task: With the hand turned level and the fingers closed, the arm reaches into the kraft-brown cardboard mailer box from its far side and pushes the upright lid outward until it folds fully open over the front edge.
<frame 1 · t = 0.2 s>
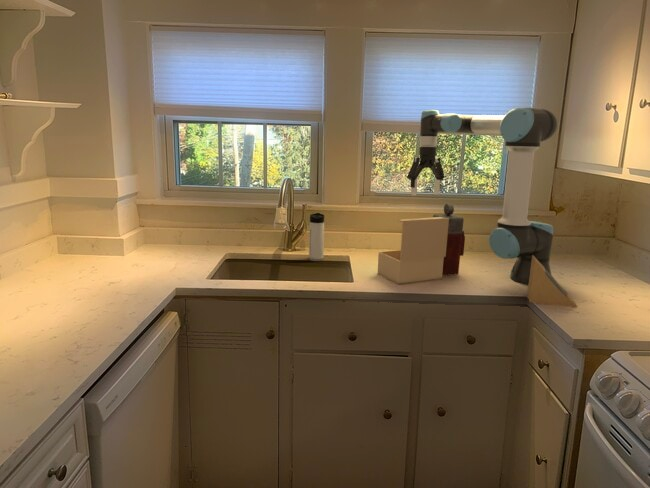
hand: (425, 194, 222), 28 cm above the worktop, tool pointing down, fingers open, 13 cm apart
sandwich container: (551, 302, 171), on the worktop
mailer lid: (421, 238, 185), point 17 cm above the worktop, hinge at 90.0°
red grinder: (445, 272, 203), on the worktop
travel mug: (316, 259, 216), on the worktop
mailer box: (409, 276, 194), on the worktop
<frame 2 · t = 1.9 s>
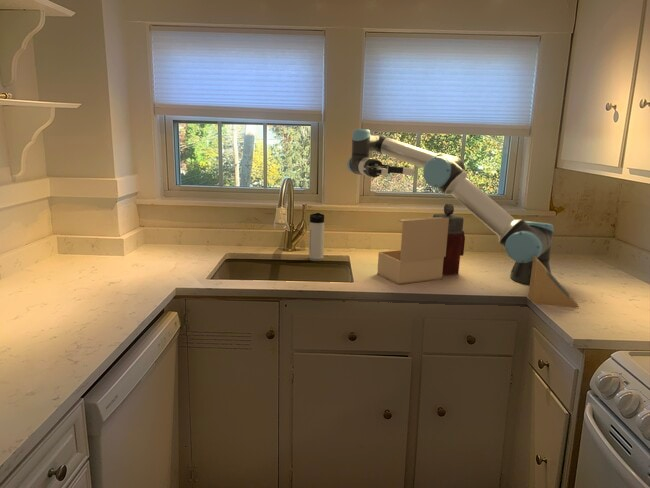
hand: (400, 172, 189), 40 cm above the worktop, tool horizontal, fingers open, 11 cm apart
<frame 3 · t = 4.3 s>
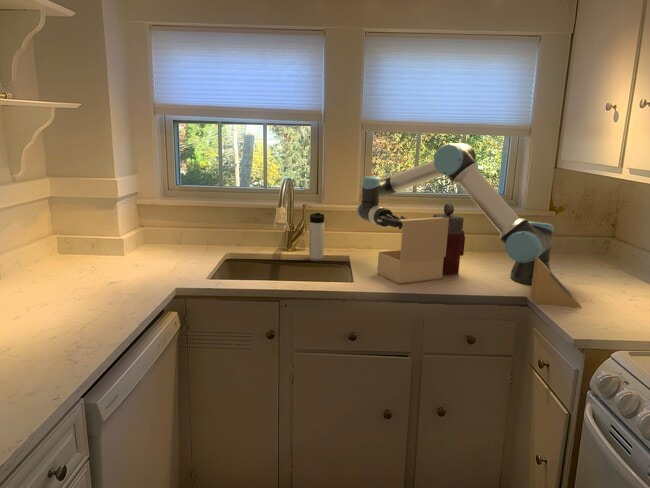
hand: (413, 227, 188), 20 cm above the worktop, tool horizontal, fingers closed
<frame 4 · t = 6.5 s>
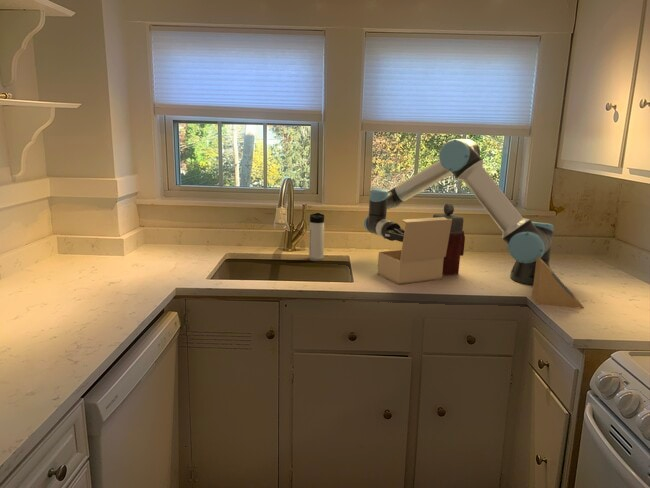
hand: (422, 243, 183), 15 cm above the worktop, tool horizontal, fingers closed
mailer lid: (423, 238, 184), point 17 cm above the worktop, hinge at 97.3°, touching gripper
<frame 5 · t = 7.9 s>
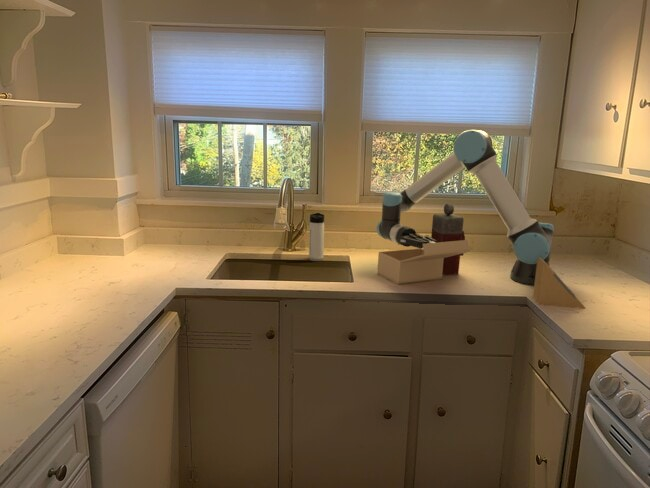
hand: (441, 249, 174), 15 cm above the worktop, tool horizontal, fingers closed
mailer lid: (434, 251, 179), point 14 cm above the worktop, hinge at 156.9°
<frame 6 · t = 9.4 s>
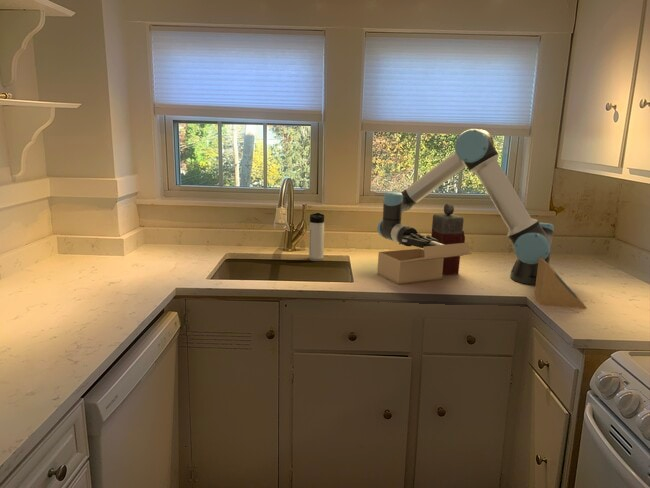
hand: (443, 248, 174), 16 cm above the worktop, tool horizontal, fingers closed
mailer lid: (434, 252, 179), point 13 cm above the worktop, hinge at 160.8°
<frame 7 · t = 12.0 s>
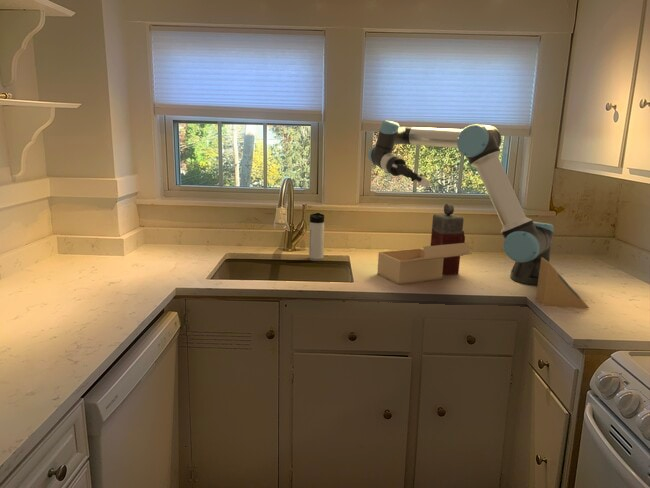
hand: (427, 183, 186), 36 cm above the worktop, tool horizontal, fingers closed
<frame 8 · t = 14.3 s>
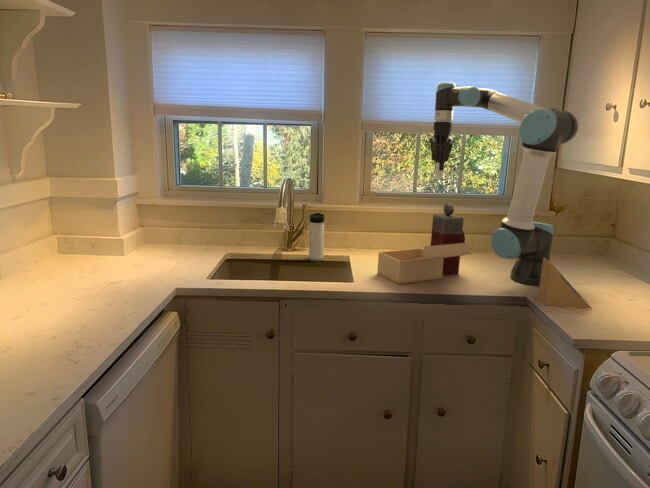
hand: (438, 177, 212), 36 cm above the worktop, tool pointing down, fingers closed
at the end: mailer lid at +161° (first picture: +90°) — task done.
